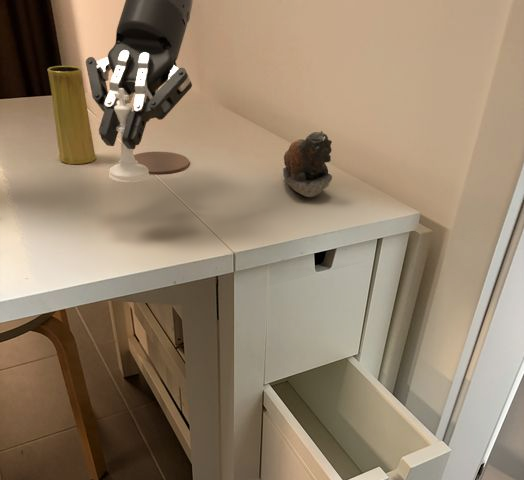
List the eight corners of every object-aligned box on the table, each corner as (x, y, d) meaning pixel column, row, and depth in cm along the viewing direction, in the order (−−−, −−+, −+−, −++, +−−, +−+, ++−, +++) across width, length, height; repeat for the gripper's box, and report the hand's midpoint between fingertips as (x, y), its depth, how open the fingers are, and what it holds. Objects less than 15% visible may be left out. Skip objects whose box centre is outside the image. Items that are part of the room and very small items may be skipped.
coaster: (147, 178, 90) (147, 176, 90) (113, 160, 97) (113, 158, 96) (202, 166, 96) (202, 163, 96) (166, 150, 103) (166, 147, 102)
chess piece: (132, 185, 66) (123, 95, 60) (100, 176, 68) (89, 88, 62) (157, 174, 70) (151, 88, 64) (126, 166, 72) (118, 82, 66)
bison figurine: (274, 178, 93) (277, 115, 87) (313, 176, 94) (319, 114, 88) (294, 205, 84) (300, 136, 78) (338, 203, 85) (347, 135, 79)
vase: (88, 151, 100) (75, 64, 91) (101, 161, 96) (90, 70, 88) (54, 156, 97) (38, 66, 88) (67, 166, 93) (52, 73, 85)
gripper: (91, -16, 65) (48, 118, 63) (201, -7, 62) (160, 134, 60) (118, 30, 72) (80, 152, 70) (218, 41, 69) (182, 168, 67)
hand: (117, 143), depth 65 cm, fingers closed on chess piece
